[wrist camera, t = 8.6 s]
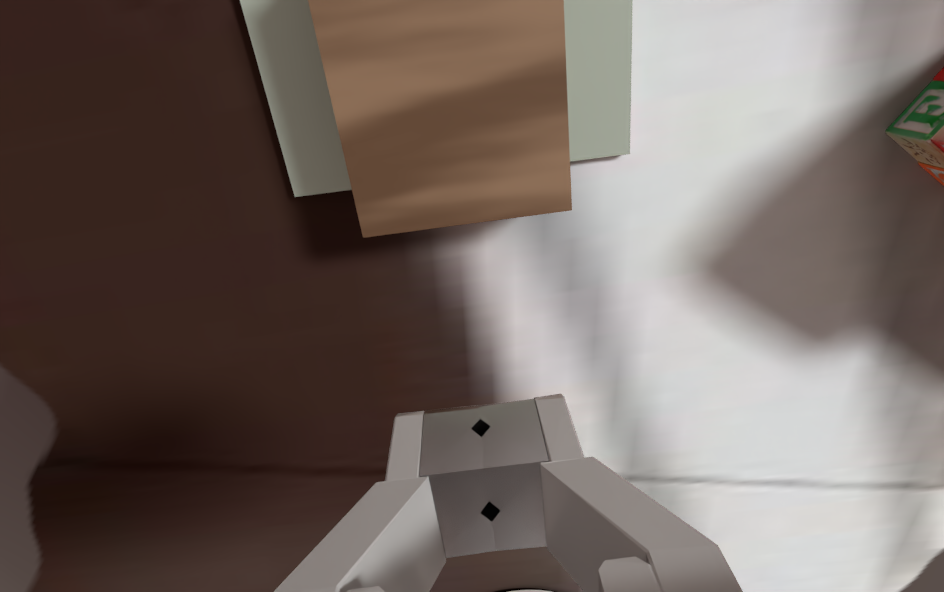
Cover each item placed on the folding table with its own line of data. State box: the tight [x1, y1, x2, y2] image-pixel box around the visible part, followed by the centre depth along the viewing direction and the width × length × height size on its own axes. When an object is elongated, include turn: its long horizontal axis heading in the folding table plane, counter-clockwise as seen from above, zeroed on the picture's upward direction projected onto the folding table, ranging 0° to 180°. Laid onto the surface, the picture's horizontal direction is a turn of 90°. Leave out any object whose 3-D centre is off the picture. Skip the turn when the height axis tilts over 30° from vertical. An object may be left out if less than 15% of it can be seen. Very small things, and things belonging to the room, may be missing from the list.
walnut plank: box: [308, 0, 572, 238], centre depth 23 cm, size 4×10×12 cm
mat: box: [240, 0, 632, 197], centre depth 24 cm, size 16×18×1 cm
